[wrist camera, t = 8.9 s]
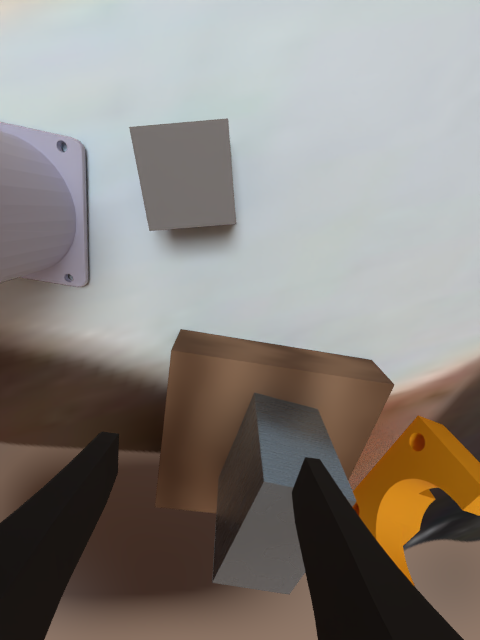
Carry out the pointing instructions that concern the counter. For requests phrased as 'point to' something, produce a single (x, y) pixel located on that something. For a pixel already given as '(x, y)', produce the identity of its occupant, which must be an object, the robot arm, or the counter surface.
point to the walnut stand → (235, 396)
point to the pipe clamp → (415, 485)
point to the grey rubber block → (185, 173)
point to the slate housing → (268, 494)
